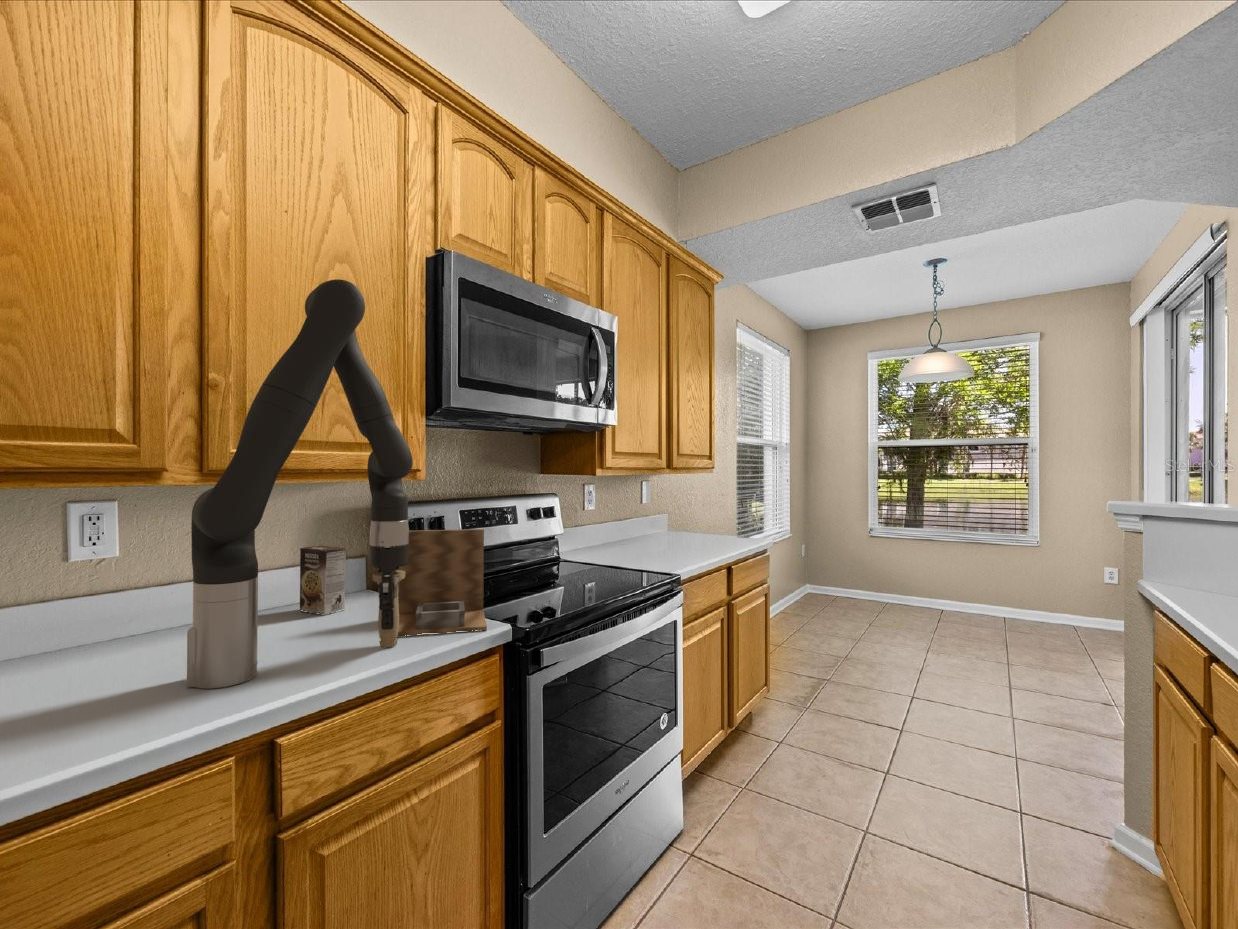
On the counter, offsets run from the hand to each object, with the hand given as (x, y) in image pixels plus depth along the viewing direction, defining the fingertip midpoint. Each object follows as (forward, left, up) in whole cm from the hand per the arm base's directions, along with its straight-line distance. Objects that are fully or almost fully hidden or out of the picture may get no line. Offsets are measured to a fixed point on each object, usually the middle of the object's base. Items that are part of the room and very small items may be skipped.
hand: (388, 625), depth 117 cm
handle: (0, 0, -4) cm, 4 cm away
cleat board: (+10, +15, -4) cm, 19 cm away
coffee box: (-19, +34, -4) cm, 39 cm away
